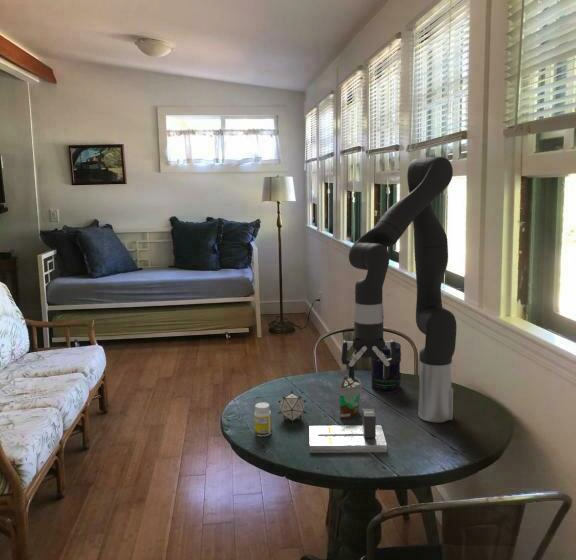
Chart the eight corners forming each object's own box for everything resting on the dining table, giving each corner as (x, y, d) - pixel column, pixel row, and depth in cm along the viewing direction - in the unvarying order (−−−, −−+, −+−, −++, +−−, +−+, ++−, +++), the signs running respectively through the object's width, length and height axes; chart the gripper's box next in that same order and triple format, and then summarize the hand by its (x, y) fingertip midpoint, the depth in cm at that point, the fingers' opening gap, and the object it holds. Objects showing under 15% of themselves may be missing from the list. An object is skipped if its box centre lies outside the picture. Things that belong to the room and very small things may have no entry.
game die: (290, 428, 174) (289, 396, 179) (313, 424, 169) (312, 391, 174) (271, 423, 168) (271, 389, 172) (294, 418, 163) (294, 384, 168)
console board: (380, 431, 162) (380, 424, 161) (386, 452, 150) (386, 444, 150) (309, 432, 162) (309, 425, 162) (309, 452, 151) (309, 445, 150)
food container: (360, 422, 168) (360, 389, 166) (339, 421, 169) (339, 388, 168) (363, 406, 180) (363, 375, 178) (344, 404, 181) (343, 374, 180)
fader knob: (373, 429, 158) (373, 408, 157) (375, 437, 153) (375, 416, 152) (362, 429, 158) (362, 408, 157) (364, 437, 153) (364, 416, 152)
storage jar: (365, 389, 194) (365, 346, 191) (379, 380, 202) (379, 339, 199) (392, 395, 188) (392, 351, 186) (405, 386, 196) (406, 343, 193)
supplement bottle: (262, 428, 166) (261, 400, 165) (275, 432, 163) (274, 404, 162) (251, 434, 163) (250, 405, 161) (264, 438, 160) (263, 409, 158)
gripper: (394, 315, 153) (393, 373, 156) (340, 316, 154) (340, 374, 157) (398, 322, 146) (397, 383, 149) (342, 323, 147) (342, 384, 149)
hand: (368, 378), depth 153 cm, fingers open, 8 cm apart
